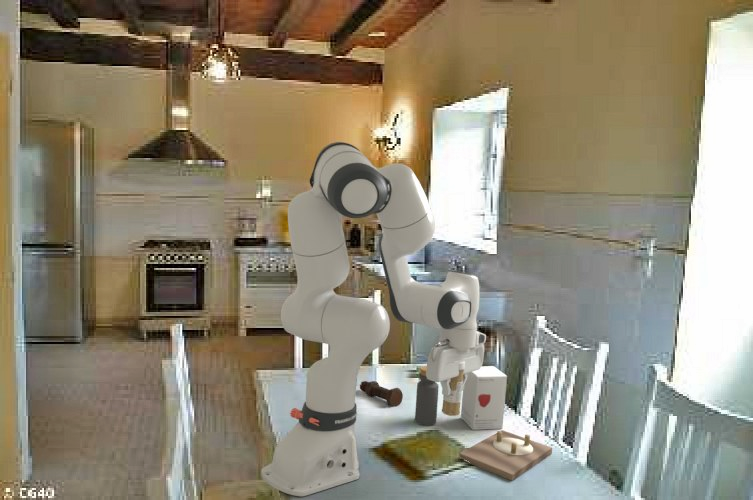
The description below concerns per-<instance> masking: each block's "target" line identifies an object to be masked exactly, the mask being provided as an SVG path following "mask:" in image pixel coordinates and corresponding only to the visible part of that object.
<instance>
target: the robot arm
mask: <svg viewBox="0 0 753 500" xmlns="http://www.w3.org/2000/svg"><path fill="white" fill-rule="evenodd" d="M310 175H311V176H310V178H309V185H310V187H311V189H310V190H307V191H304V192H300V193H299V194H296V196H294V197H293V198H292V199H291V200H290V201H289V204H288V206H287V223H288V235H289V242H290V247H291V251H292V255H293V260H294V265H295V271H296V276H297V283H296V287H295V290H294V292H292V293H291V294H290V295H289V296H287V298H286V299H285V300H284V302H283V304H282V306H281V310H280V321H281V324H282V327H283V329H284V331H285V332H287V333H289V334H291V335H292V336H295V337H297V338H299V339H302V340H305V341H310V342H316V343H321V344H326V345H329V351H328V352H329V353H328V355H327V356H326V357H324V358H321V359H319V360H317V361H314V363H313V364H311V365H310V367H309V368H308V371H307V373H306V388H305V401H304V403H303V406H302V409H301V410H300V409H297V408H296V407H294V408H292V409H291V411H290V413H289V414H290V417H291V418H293V419H296V420H298V422H297V423H296V424H295V426H294V427H292V429H291V430H289V432H288V433H287V434H286V435H285V436H284V437H283V438H282V439H281V441H279V443H278V444H277V445H276V446H275V448H274V450H273V451H274V452H273V454H272V462H270V463H269V464H268V465H265V466H264V467H262V468H261V470H260V476H261V478H262V479H263V480H264V481H265V483H267V484H268V485H269V486H271V487H272V488H275V489H276V490H278V491H280V492H282V493H284V494H288V495H290V496H296V497H306V496H309V495H313V494H315V493H318V492H321V491H322V492H323V491H325V490H328V489H331V488H334V487H337V486H340V485H344V484H346V483H350V482H353V481H355V480H358V479H359V478H360V471H359V467H360V461H359V459H358V458H359V457H358V453H357V452H358V451H357V440H356V439H357V438H356V431H355V430H356V429H355V423H356V421H357V415H358V413H357V410H358V409H357V403H356V390H357V383H358V375H359V371H360V368H361V366H362V364H363V363H364V360H365V359H366V358H367V357H368V356H369V355H370V353H372V352H374V351H375V350H377V349H379V348H380V347H381V346H382V345H383V344H384V343H385V341H386V339H387V338H388V336H389V333H390V328H391V327H390V326H391V320H390V316H389V314H388V313H389V312H388V311H387V310H386V308H385V307H384V305H381V304H379V303H375V302H373V301H371V300H368V299H365V298H359V297H354V296H353V297H352V296H345V295H340V294H337V293H336V292H335V291H334V289H336V288H338V287H339V286H340V285H342V284H343V283H344V282H345V281H346V280H347V278H348V276H349V274H350V267H351V265H350V259H349V255H348V250H347V249H348V248H347V244H346V238H345V233H344V229H343V217H347V218H351V219H362V218H366V217H369V216H371V215H373V214H374V215H375V214H376V216H377V219H378V221H379V224H380V227H381V230H382V233H381V234H380V237H379V240H378V250H379V255H380V259H381V264H382V267H383V272H384V275H385V280H386V283H387V284H386V285H387V289H388V293H389V307H390V310H391V313H392V315H393V316H394V318H395V319H396V320H398V321H399V322H402V323H408V324H409V323H410V324H416V325H420V326H426V327H429V328H431V327H432V328H434V329H439V338H438V341H436V342H435V343H434V345H433V346H432V347H431V349H430V351H429V353H428V358H427V361H426V366H427V367H426V377H427V379H428V380H431V381H435V382H436V383H440V385H441V389H442V390H441V393H442V396H443V395H445V396H449V395H451V391H452V388H450V386H449V382H450V380H451V378H454V377H457V376H458V375H459V371H460V370H458V369H459V363H460V362H464V361H465V368H464V371H463V385H462V392H463V390H464V384H465V382H466V380H467V377H468V373H470V372H473V371H476V370H479V369H480V368H481V366H483V362H484V357H485V356H484V355H485V345H484V344H485V343H486V341H487V335H486V334H485V333H482V332H480V331H478V323H477V315H478V312H479V309H480V308H479V307H480V281H479V277H478V276H476V275H475V274H473V273H469V272H464V271H459V270H450V271H448V272H447V274H446V278H445V280H444V281H443V282H441V284H438V285H431V284H428V283H427V284H426V283H421V282H419V281H417V280H415V279H414V278H413V277H412V276H411V273H410V272H411V271H410V267H409V263H408V262H409V261H408V258H407V256H410V255H413V254H416V253H417V252H419V251H421V250H422V249H423V248H424V247H426V246H427V245H428V244H429V243H430V241H431V240H432V238H433V236H434V234H435V230H436V223H435V218H434V214H433V211H432V208H431V205H430V202H429V200H428V197H427V195H426V192H425V191H424V189H423V187H422V185H421V182H420V180H419V179H418V177H417V175H416V174H415V172H414V171H413V169H412V168H411V167H409V166H408V165H406V164H404V163H391V164H387V165H384V166H382V167H376V166H375V165H373V164H372V162H371V161H370V159H368V157H367V156H366V155H364V154H363V153H362V152H361V151H360V150H359V148H358V147H356V146H354V145H353V144H351V143H348V142H343V141H336V142H333V143H332V142H331V143H329V144H327V145H326V146H324V147H323V148H322V149H321V150H320V151H319V153H318V155H317V157H316V160H315V162H314V166H313V170H312V172H311V174H310Z"/></svg>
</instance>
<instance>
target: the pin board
mask: <svg viewBox="0 0 753 500" xmlns="http://www.w3.org/2000/svg"><path fill="white" fill-rule="evenodd" d="M552 454H553V447H552V446H548V445H546V444H542V443H540V442H537V441H534V440H531V435H530V434H524V437H523V436H520V435H518V434H514V433H511V432H509V431H506V430H504V429H501V430H498V431H497V432H496V433H494V434H492V435H490V436H489V437H487V438H485V439H483V440H481V441H479V442H477V443H476V444H474V445H472V446H471V447H468V448H466V449H465V450H462V451H461V452H459V456H460V457H461V458H463V459H465V460H467V461H469V462H470V463H471V464H470V463H469V464H470V465H472V466H475V467H477V468H479V469H482V470H484V471H487V472H490V473H491V474H494V475H497V476H499V477H502V478H504V479H506V480H508V481H514V480H516V479H517V478H519V477H520V476H521V475H523V474H525V473H526V472H527V471H529V470H531V469H532V468H533V467H535V466H536V465H538V464H539V463H540V462H542V461H543V460H545V459H546V458H548V457H549V456H550V455H552ZM459 456H458V457H459Z"/></svg>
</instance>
